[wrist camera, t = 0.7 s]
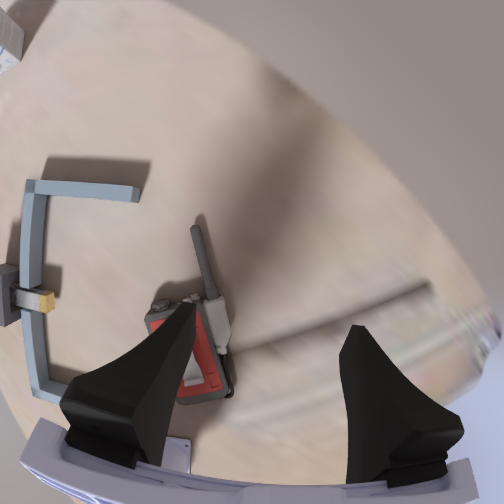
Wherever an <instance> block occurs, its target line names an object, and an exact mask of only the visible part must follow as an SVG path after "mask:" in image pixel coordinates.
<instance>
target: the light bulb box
mask: <svg viewBox="0 0 504 504" xmlns="http://www.w3.org/2000/svg"><path fill="white" fill-rule="evenodd" d="M24 34H25V31H24V30H23V29H22V28H21V27H20V26H19V25H18V24H17V23H16V22H15V21H14V20H13V19H12V18H11V17H10V16H9V15H8V14H7V13H6V12H5V11H4V10H3V9H2V8H1V7H0V74H2V73H4V72H5V71H7V70H8V69H10V68H12V67H13V66H15V65H17V64H18V63H20V62H21V56H22V48H23V41H24Z"/></svg>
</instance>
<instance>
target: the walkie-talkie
mask: <svg viewBox="0 0 504 504" xmlns="http://www.w3.org/2000/svg"><path fill="white" fill-rule="evenodd" d="M190 231H191V235H192V239H193V243H194V247H195V251H196V255H197V258H198V262H199V266H200V270H201V273H202V277H203V281H204V284H205V288H206V289H205V294H206V298H207V299H206V300H203V299H202V298H201V297H200V296H199V297H198V293H195V294H192V295H191V299H190V298H185V299H183V301H184V302H190V303H196V304H197V305H196V337H195V341H194V345H193V349H192V353H191V357H190V359H189V362H188V365H187V368H186V370H185V373H184V376H183V378H182V381H181V384H180V386H179V389H178V392H177V395H176V398H175V401H177V402H178V403H180V404H181V405H189V404H195V403H200V402H205V401H211V400H215V399H220V398H223V397H224V398H231V397H232V396H233V395H234V388H233V385H232V382H231V379H230V376H229V372H228V369H227V366H226V362H225V358H226V354H227V349H226V345H227V343H228V341H229V338H230V336H231V333H232V332H231V326H230V323H229V319H228V315H227V312H226V308H225V299H224V296H223V295H222V296H219V294H218V290H217V287H216V286H215V285H214V281H213V277H212V273H211V269H210V265H209V262H208V258H207V254H206V250H205V246H204V242H203V238H202V234H201V230H200V227H199V226H198V225H193V226H192V227H191V228H190ZM181 303H182V302H178V303H174V304H170V301H169V300H168V299H163V300H159V301H156V302H154V303H152V304H151V308H152V309H150V310H149V311H148V313H147V314H146V316H145V319H144V320H145V323H146V326H147V329H148V332H149V335H150V334H152V333H153V332H154V331H155V330H156V329H157V328H158V327H159V326H160V325H161V324H162V323H163V322H164V321H165V320H166V319H167V318H168V317H169V316H170V315H171V314H172V313H173V312H174V311H175V309H176V308H177V307H178V306H179V305H180V304H181ZM220 353H221V355H222V360H221V356H220ZM229 387H230V390H231V392H230V393H229V394H227V392H228V390H229Z"/></svg>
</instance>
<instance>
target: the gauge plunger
mask: <svg viewBox="0 0 504 504" xmlns="http://www.w3.org/2000/svg"><path fill="white" fill-rule="evenodd" d="M9 293H10V304H13V305H17V306H20V307H24V308H28V309H31V310H35V311H39V312H43V313H48V312H50V311H51V310H53V309H54V292H50V291H46V290H41V289H37V288H30V289H27V288H23V287H20V284H15V283H9Z"/></svg>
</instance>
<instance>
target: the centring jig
mask: <svg viewBox="0 0 504 504" xmlns="http://www.w3.org/2000/svg"><path fill="white" fill-rule="evenodd" d="M47 195H54V196H67V197H79V198H90V199H101V200H112V201H122V202H132V203H139V196H140V189H139V188H136V187H133V186H124V185H112V184H99V183H86V182H70V181H53V180H31V179H27V180H26V186H25V194H24V202H23V212H22V223H21V239H20V266H15V265H11V264H6V263H5V264H1V265H0V326H3V327H6V326H8V325H9V324H11V323H13V322H15V321H17V320H19V319H20V318H22V330H23V339H24V347H25V355H26V362H27V368H28V374H29V379H30V385H31V390H32V394H33V396H34V397H37V398H40V399H43V400H45V401H48V402H51V403H54V404H57V405H59V402H60V400H61V398H62V396H63V394H64V392H65V390H66V389H67V387H68V385H65V384H62V383H58V382H55V381H52V380H49V373H48V366H47V358H46V349H45V339H44V327H43V312H39V311H35V310H31V309H28V308H24V307H20V306H17V305H13V304H10V293H9V283H12V282H15V281H18V280H20V287H23V288H27V289H30V288H33V287H35V286H38V285H40V284H42V251H43V233H44V221H45V211H46V202H47Z"/></svg>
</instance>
